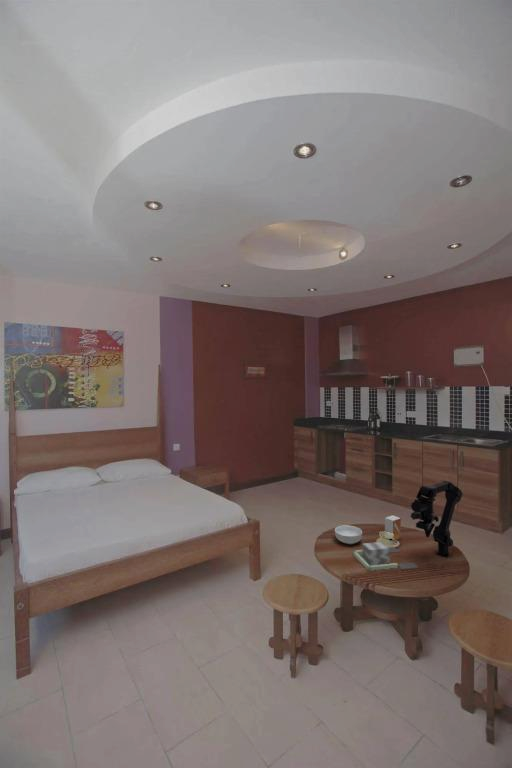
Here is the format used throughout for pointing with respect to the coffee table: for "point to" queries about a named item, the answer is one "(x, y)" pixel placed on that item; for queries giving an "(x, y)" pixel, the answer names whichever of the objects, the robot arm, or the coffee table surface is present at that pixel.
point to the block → (376, 553)
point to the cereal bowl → (348, 534)
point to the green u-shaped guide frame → (383, 566)
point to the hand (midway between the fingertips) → (427, 536)
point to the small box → (393, 526)
